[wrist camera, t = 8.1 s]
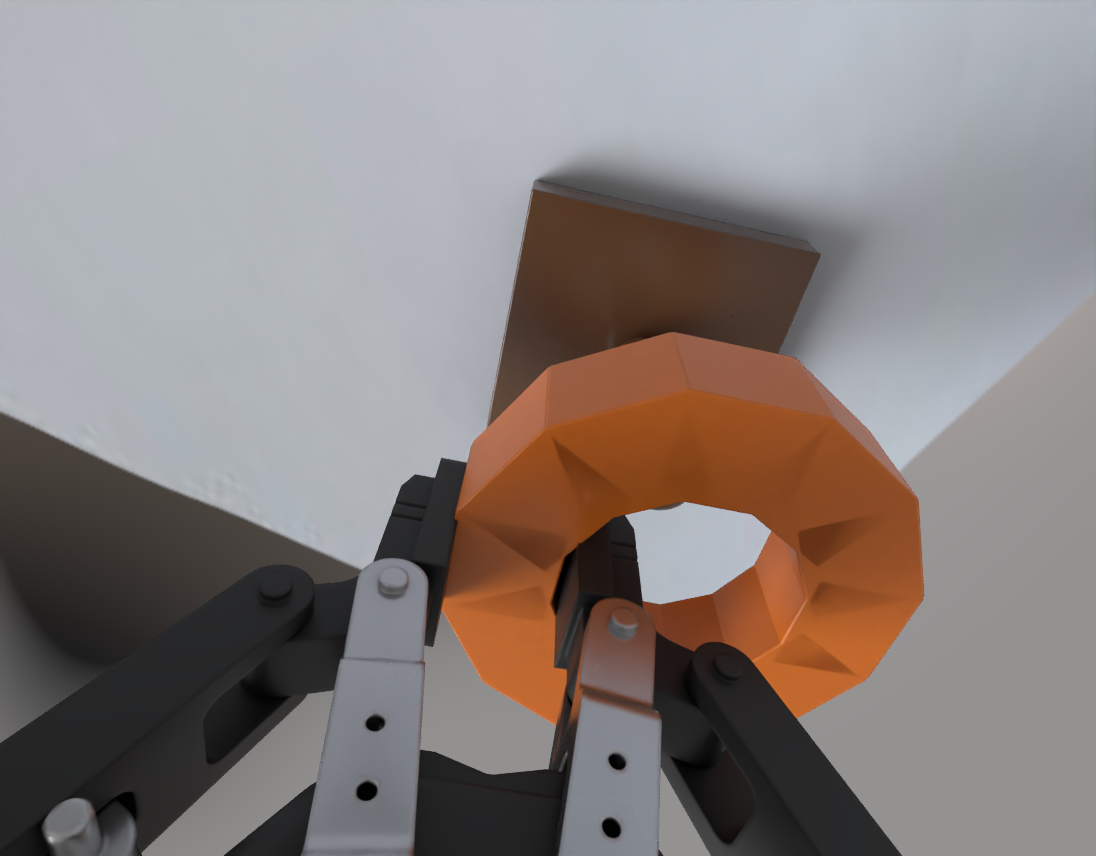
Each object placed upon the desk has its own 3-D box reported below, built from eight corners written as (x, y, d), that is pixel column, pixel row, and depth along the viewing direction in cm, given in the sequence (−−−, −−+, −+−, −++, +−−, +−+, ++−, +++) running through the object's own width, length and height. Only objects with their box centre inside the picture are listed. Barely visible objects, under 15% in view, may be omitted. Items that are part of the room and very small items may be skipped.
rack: (534, 179, 23) (510, 273, 15) (808, 241, 24) (937, 365, 16) (488, 421, 28) (450, 595, 20) (715, 466, 29) (773, 651, 21)
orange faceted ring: (498, 293, 14) (483, 347, 11) (955, 390, 14) (1025, 458, 12) (438, 628, 19) (421, 709, 17) (778, 685, 20) (804, 770, 17)
